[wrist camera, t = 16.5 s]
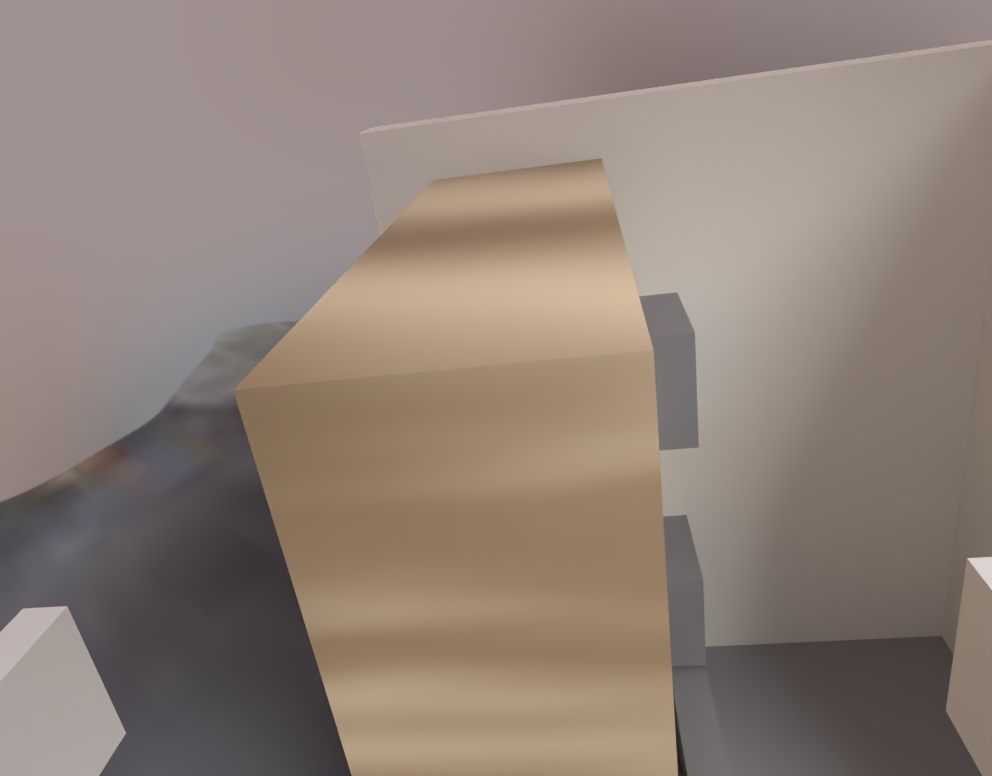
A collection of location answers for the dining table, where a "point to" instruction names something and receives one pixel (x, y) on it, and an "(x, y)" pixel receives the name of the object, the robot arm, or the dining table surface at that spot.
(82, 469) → the dining table surface
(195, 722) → the dining table surface
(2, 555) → the dining table surface
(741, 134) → the cabinet
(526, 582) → the tan patterned box
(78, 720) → the robot arm
